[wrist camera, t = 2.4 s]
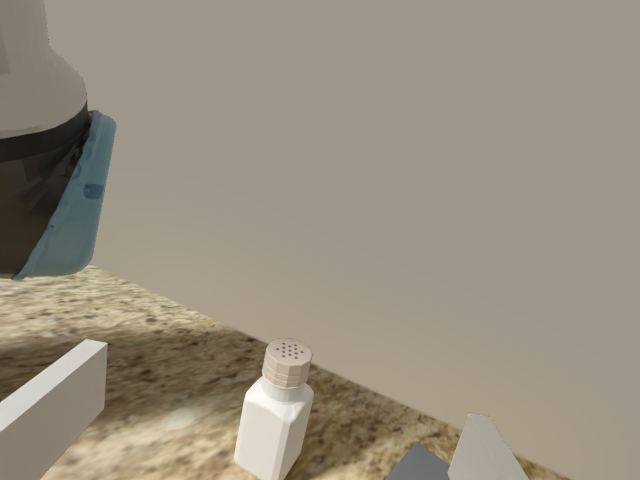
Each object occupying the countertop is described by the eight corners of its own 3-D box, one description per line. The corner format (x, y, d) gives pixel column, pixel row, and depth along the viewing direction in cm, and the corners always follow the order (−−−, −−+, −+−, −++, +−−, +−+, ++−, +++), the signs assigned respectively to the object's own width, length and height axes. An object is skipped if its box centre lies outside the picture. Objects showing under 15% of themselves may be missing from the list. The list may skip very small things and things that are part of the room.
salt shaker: (275, 496, 23) (302, 378, 20) (229, 465, 24) (248, 352, 22) (302, 453, 26) (327, 349, 24) (260, 429, 28) (280, 328, 26)
